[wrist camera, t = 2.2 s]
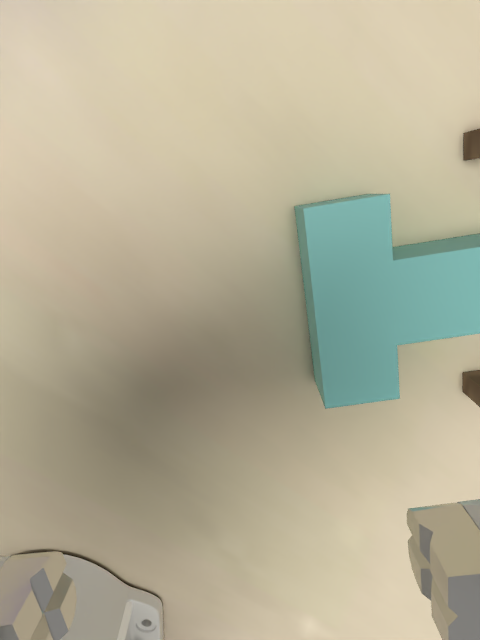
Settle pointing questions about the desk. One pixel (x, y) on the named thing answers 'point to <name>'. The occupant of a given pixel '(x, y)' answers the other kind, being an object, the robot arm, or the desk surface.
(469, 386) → the frame
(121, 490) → the desk surface
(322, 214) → the t block
